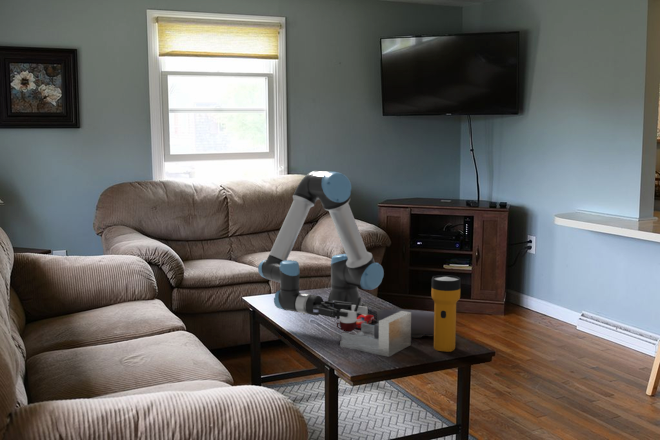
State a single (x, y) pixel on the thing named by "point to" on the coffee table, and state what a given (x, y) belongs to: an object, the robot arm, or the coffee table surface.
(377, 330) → the tall grey box
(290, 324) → the coffee table surface
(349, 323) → the cocoa
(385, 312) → the bluetooth speaker
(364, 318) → the race car
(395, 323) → the labeled panel enclosure
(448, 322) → the flashlight
